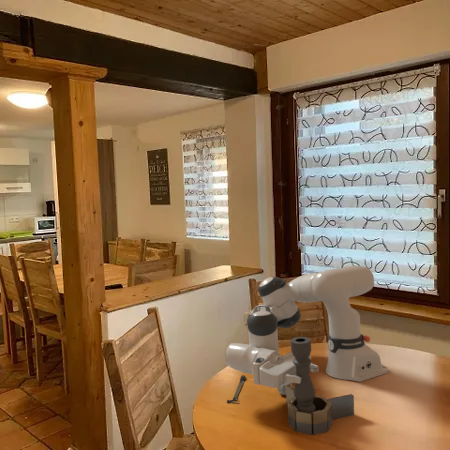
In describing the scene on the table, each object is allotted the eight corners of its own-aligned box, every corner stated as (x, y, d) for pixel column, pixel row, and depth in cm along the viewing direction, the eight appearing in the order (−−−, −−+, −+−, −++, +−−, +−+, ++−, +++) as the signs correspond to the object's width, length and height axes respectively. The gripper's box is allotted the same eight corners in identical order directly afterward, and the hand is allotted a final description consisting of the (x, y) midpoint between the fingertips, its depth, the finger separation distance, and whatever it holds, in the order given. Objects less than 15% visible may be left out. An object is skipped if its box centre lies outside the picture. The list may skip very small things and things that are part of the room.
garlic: (275, 390, 160) (274, 375, 159) (290, 389, 160) (290, 374, 160) (278, 398, 154) (278, 382, 154) (295, 396, 154) (294, 381, 154)
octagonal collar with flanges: (327, 394, 155) (327, 376, 154) (364, 423, 136) (364, 403, 135) (271, 406, 148) (270, 387, 148) (301, 437, 129) (300, 416, 129)
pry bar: (246, 407, 150) (246, 404, 150) (226, 404, 152) (226, 401, 152) (258, 380, 171) (258, 377, 170) (240, 377, 172) (240, 374, 172)
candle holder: (313, 431, 131) (307, 345, 129) (292, 427, 134) (286, 343, 132) (320, 420, 137) (314, 337, 134) (300, 416, 140) (293, 335, 137)
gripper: (287, 363, 152) (326, 373, 143) (250, 385, 137) (291, 398, 128) (287, 344, 152) (326, 353, 143) (249, 364, 136) (290, 375, 127)
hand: (309, 374), depth 135 cm, fingers open, 8 cm apart
